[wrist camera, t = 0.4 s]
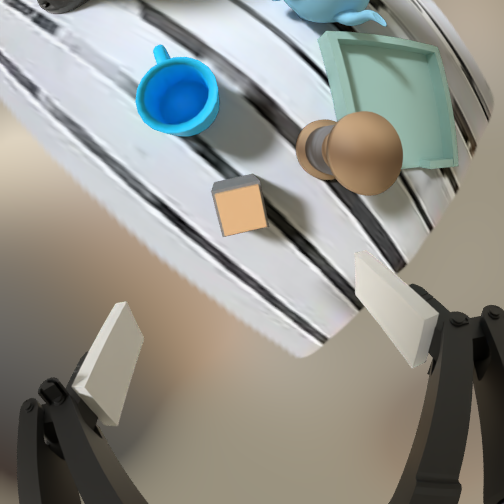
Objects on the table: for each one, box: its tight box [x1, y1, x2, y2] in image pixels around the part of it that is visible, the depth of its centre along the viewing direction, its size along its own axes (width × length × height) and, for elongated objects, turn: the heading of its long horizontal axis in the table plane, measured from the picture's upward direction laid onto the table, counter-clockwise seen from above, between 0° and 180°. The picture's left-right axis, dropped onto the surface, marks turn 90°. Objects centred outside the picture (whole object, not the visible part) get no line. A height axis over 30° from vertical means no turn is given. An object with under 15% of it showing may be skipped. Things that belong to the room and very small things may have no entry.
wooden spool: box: [296, 111, 403, 196], centre depth 27 cm, size 8×8×12 cm
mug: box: [136, 45, 219, 136], centre depth 25 cm, size 12×8×8 cm
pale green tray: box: [318, 31, 458, 169], centre depth 29 cm, size 20×20×4 cm
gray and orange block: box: [211, 174, 269, 237], centre depth 31 cm, size 5×5×8 cm
